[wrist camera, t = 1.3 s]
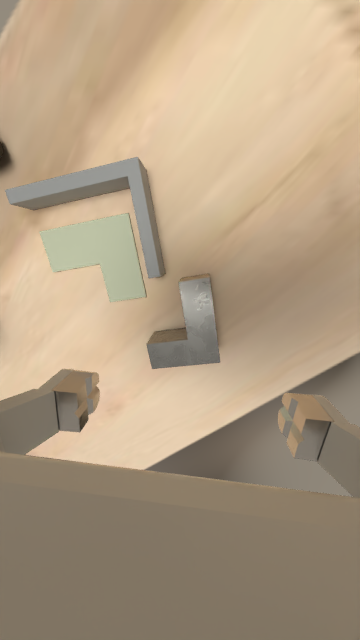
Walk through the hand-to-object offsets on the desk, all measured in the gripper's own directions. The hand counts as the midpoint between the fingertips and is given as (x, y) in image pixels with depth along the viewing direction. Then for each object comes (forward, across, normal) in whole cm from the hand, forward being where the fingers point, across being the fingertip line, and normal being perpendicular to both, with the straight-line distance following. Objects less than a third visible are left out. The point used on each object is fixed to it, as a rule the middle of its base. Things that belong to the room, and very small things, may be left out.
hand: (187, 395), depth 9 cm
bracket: (+24, +2, +3) cm, 24 cm away
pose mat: (+24, +16, -4) cm, 29 cm away
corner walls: (+24, +15, -8) cm, 29 cm away
